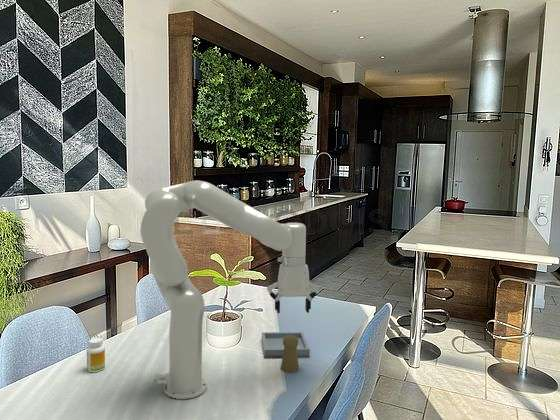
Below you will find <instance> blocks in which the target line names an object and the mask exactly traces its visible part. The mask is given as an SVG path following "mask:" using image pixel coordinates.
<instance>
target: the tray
mask: <svg viewBox="0 0 560 420" xmlns="http://www.w3.org/2000/svg"><path fill="white" fill-rule="evenodd" d="M288 335H293V336H296V337H297V338H298V346H297V356H298V359H299V358H306V359H307V358H310V355H311V354H310V349H311V348H310V346H309V345H308V342H307V339H306V336H305V334H304V332H303V331H284V332H283V331H278V332H277V331H276V332H275V331H274V332H272V331H271V332H268V331H267V332H266V331H265V332H264V331H263V332H261V344H262V351H263V357H264V358H263V359H282V358H283V352H284V345H283V339H284V337H285V336H288Z"/></svg>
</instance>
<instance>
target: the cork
mask: <svg viewBox="0 0 560 420" xmlns="http://www.w3.org/2000/svg"><path fill="white" fill-rule="evenodd" d="M283 345H284V352H283V358H281V359H282V360H281V365H280V370H281V371H282V372H284V373H289V374H290V373H292V374H293V373H297V372H298V371H299V370H300V369H299V367H300V366H299V358H298V356H297V346H298V338H297V337H296V336H293V335H288V336H285V337H284V339H283Z"/></svg>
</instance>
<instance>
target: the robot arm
mask: <svg viewBox="0 0 560 420" xmlns="http://www.w3.org/2000/svg"><path fill="white" fill-rule="evenodd" d="M144 206H145V209H146V210H145V211H144V213H143V215H142V219H141V223H140V237H141V241H142V243H143V245H144V249H145V251H146V253H147V256H148V258H149V268H150V272H151V274H152V276H153V279H154V280H155V283H156V285H157V287H158V289H159V291H160V293H161V296H162V298H163V300H164V301H165V303H166V304H167V307H168V308H169V310H170V319H169V320H170V321H169V328H168V329H169V331H168V332H169V333H168V334H169V335H168V338H169V339H168V342H169V344H168V347H169V349H168V350H169V353H168V354H169V357H168V358H169V359H168V360H169V362H168V363H169V366H168V367H169V369H168V373H165V374H155V375H153V377H154V378H153V381H154V382H156V385H157V386H159V385H160V386H161V385H163V392H164V394H165V395H166V396H168V397H169V398H171V397H172V399H175V398H176V399H177V400H188V399H193V398H196V397H199V396H201V395H202V394H203V393H205V391H206V390H207V387H208V383H207V381H206V380H205V379H204V378H203V376H202V375H203V373H202V372H203V369H202V368H203V367H202V366H203V323H204V314H205V307H206V306H205V305H206V304H205V299H204V296H203V295H202V292H201V291H200V290H199V289H198V288H197V286H195V285H194V284H193V283H192V281H191V279H190V278H189V275H188V272H189V268H188V265H187V264H188V263H187V261H186V259H185V258H184V256H183V254H182V251H181V250H180V246H179V245H178V243H177V240H176V237H175V234H174V231H173V229H174V228H173V226H174V223H175V221H176V219H177V218H178V216H179V215H180V213H182V212H186V211H189V210H192V209H196V210H197V211H200V212H201V213H203V214H205V215H207V216H209V217H210V218H212V219H214V220H216V221H218V222H220V223H222V224H223V225H225V226H227V227H229V228H230V229H233V230H234V231H237V232H238V233H242V234H245V235H248V236H249V237H252V238H253V239H256V240H257V241H259V242H260V243H261V244H262V245H264V246H266V247H268V248H271V249H273V250H275V251H278V252H282V254H281V256H279V257H277V262H280V263H281V264H280V265H279V269H278V276H277V281H276V282H273V283H272V284H270V285H267V286H266V290H267V292H268V294H269V296H270V297H271V298H272V300H274V310H275V311H276V312H277V314H280V313H281V301H280V299H281V298H282V297H285V298H286V297H288V298H292V297H295V298H296V297H298V298H299V297H306V298H305V307H304V308H305V311H306V313H307V314H308V313H310V310H311V309H312V300H313V299H314V298H315V297H316V296H317V293H319V290H320V286H319V285H317V284H315V283H313V282H311V281H310V272H309V271H310V270H309V266H308V264H306V252H307V251H306V250H307V249H306V246H307V242H306V241H307V239H306V238H307V227H306V225H305V224H304V223H301V222H286V223H280V222H279V221H276V220H275V219H273V218H271V217H270V216H268V215H266V214H263V213H262V212H261V211H258V210H256V209H255V208H254V207H252V206H250V205H249V204H247V203H245V202H243V201H242V200H239V199H238V198H236V197H234V196H233V195H231V194H230V193H228V192H226V191H224V190H223V189H221V188H219V187H217V186H215V185H214V184H212V183H210V182H208V181H203V180H197V179H196V180H191V181H186V182H183V183H177V184H173V185H169V186H165V187H160V188H156V189H153V190H152V191H150V192H149V193H148V194H147V196H146V197H145V201H144ZM276 288H277V292H276V293H274V292H273V291H274V289H276ZM310 288H312V289H313V290H312V292H310ZM176 399H175V400H176Z"/></svg>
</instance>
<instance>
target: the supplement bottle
mask: <svg viewBox="0 0 560 420" xmlns="http://www.w3.org/2000/svg"><path fill="white" fill-rule="evenodd" d="M88 345H89V346H88V347H87V348H86V370H87V372H88V373H100V372H102V371H103V370H104V369H106V368H105V367H106V350H105V348H106V347H105V345H104V344H103V339H102V338H100V337H94V338H90V339H89V341H88ZM101 370H102V371H101Z"/></svg>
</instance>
